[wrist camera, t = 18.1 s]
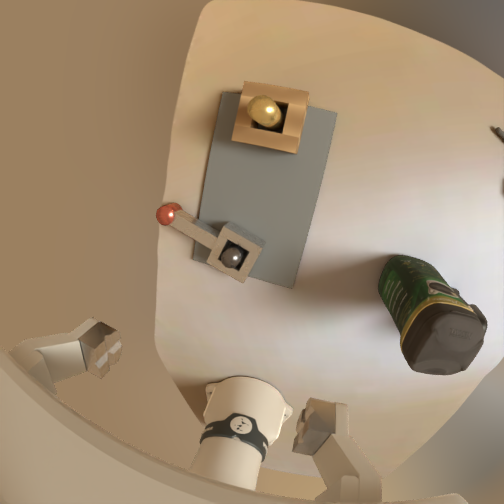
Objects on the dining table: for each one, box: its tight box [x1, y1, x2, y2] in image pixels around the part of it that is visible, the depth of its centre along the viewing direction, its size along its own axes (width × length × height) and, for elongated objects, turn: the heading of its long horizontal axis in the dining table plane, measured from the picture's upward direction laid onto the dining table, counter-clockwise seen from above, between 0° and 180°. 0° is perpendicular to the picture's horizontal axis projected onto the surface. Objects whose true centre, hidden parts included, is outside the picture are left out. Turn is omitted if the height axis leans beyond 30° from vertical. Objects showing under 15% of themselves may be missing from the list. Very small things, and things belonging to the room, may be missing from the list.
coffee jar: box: [378, 255, 484, 375], centre depth 28 cm, size 10×8×19 cm
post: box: [221, 243, 247, 268], centre depth 38 cm, size 2×2×5 cm
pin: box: [247, 95, 285, 131], centre depth 30 cm, size 3×3×9 cm
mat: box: [193, 92, 337, 289], centre depth 38 cm, size 26×16×1 cm, turn 168°
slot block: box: [232, 81, 309, 154], centre depth 32 cm, size 8×8×4 cm
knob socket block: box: [156, 203, 266, 283], centre depth 39 cm, size 16×6×3 cm, turn 63°
